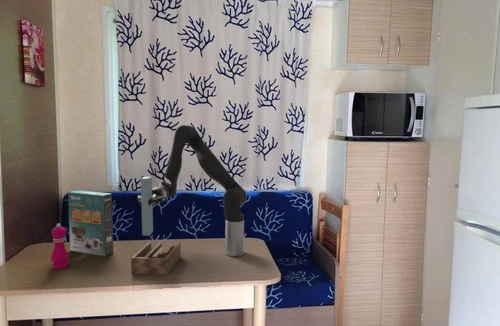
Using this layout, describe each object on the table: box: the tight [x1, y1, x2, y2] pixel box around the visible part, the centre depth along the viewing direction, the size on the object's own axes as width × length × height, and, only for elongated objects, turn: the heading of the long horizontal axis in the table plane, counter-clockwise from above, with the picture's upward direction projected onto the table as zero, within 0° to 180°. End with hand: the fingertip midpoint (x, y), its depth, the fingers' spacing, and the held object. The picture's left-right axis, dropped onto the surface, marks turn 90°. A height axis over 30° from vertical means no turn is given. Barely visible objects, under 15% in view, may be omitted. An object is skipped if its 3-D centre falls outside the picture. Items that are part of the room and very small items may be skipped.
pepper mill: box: [50, 222, 69, 270], centre depth 182 cm, size 7×7×20 cm
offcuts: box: [152, 243, 175, 258], centre depth 187 cm, size 7×13×8 cm, turn 175°
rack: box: [130, 241, 182, 276], centre depth 187 cm, size 16×23×7 cm
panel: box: [140, 176, 154, 237], centre depth 185 cm, size 3×6×26 cm, turn 175°
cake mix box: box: [67, 189, 114, 257], centre depth 203 cm, size 22×6×30 cm, turn 69°
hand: (144, 202), depth 182 cm, fingers closed on panel, 3 cm apart
